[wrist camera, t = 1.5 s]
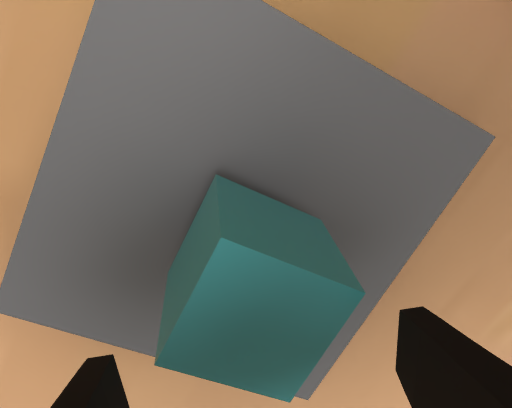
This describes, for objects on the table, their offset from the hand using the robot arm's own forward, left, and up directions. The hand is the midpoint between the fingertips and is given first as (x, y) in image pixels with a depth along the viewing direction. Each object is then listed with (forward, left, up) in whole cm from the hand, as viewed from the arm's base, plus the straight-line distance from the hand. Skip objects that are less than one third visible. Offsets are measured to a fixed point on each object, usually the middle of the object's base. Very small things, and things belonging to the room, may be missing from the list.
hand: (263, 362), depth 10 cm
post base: (0, 0, -9) cm, 9 cm away
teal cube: (0, 0, -6) cm, 6 cm away
